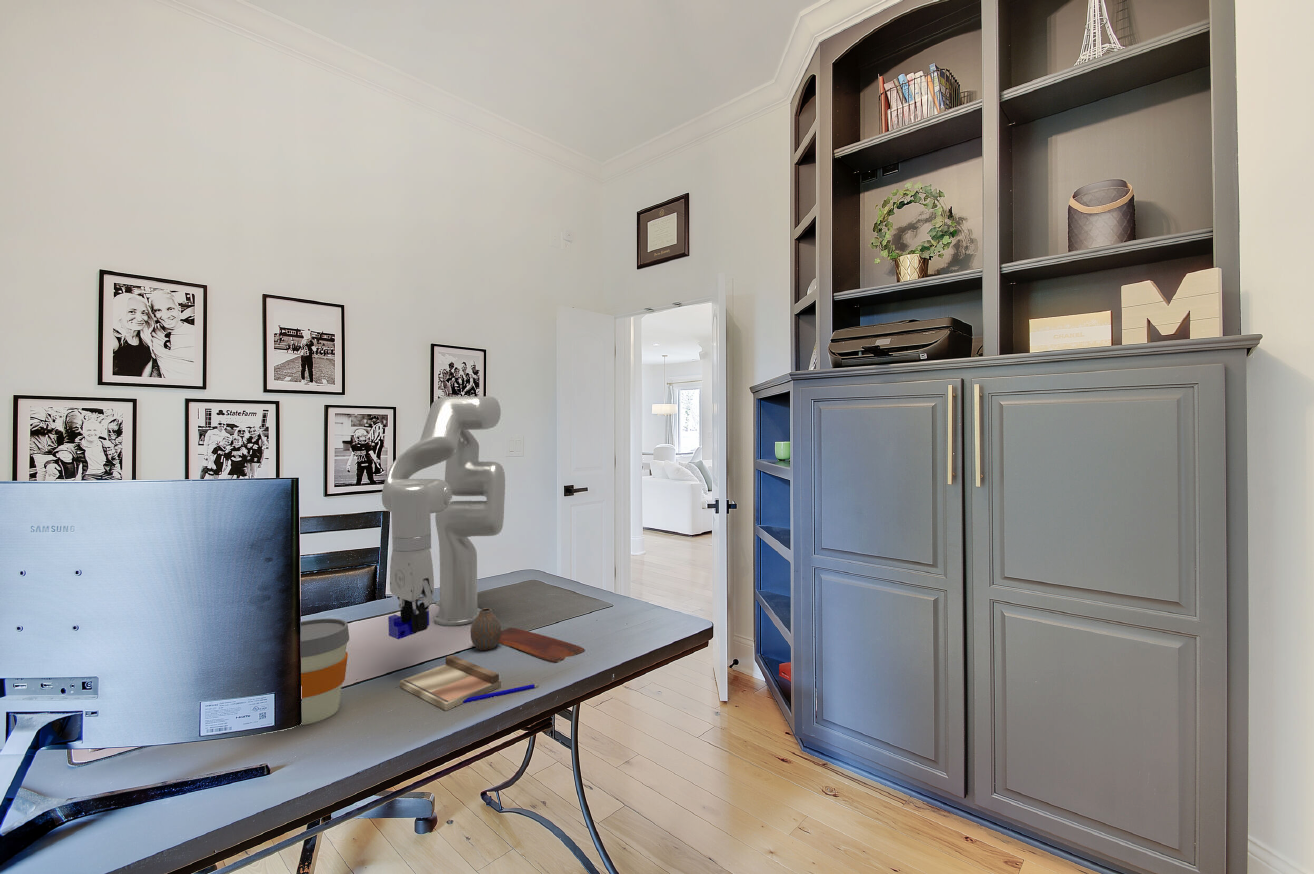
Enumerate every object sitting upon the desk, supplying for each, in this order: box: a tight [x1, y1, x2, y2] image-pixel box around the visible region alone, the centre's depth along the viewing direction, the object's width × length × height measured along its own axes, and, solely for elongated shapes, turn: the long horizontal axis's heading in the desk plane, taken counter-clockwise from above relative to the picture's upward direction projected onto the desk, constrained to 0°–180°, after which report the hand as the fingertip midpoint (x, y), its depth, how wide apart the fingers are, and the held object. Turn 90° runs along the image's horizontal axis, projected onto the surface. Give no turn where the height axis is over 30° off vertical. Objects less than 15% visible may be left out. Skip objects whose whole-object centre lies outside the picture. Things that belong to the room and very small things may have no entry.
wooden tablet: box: [498, 627, 585, 664], centre depth 135 cm, size 27×10×2 cm, turn 52°
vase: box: [469, 607, 502, 651], centre depth 133 cm, size 7×7×9 cm
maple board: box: [399, 654, 502, 712], centre depth 112 cm, size 16×12×3 cm
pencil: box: [463, 683, 540, 704], centre depth 108 cm, size 17×1×1 cm, turn 117°
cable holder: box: [387, 609, 430, 640], centre depth 120 cm, size 8×4×4 cm, turn 145°
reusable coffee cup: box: [300, 618, 350, 726], centre depth 102 cm, size 13×13×15 cm
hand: (414, 627), depth 121 cm, fingers closed on cable holder, 3 cm apart
